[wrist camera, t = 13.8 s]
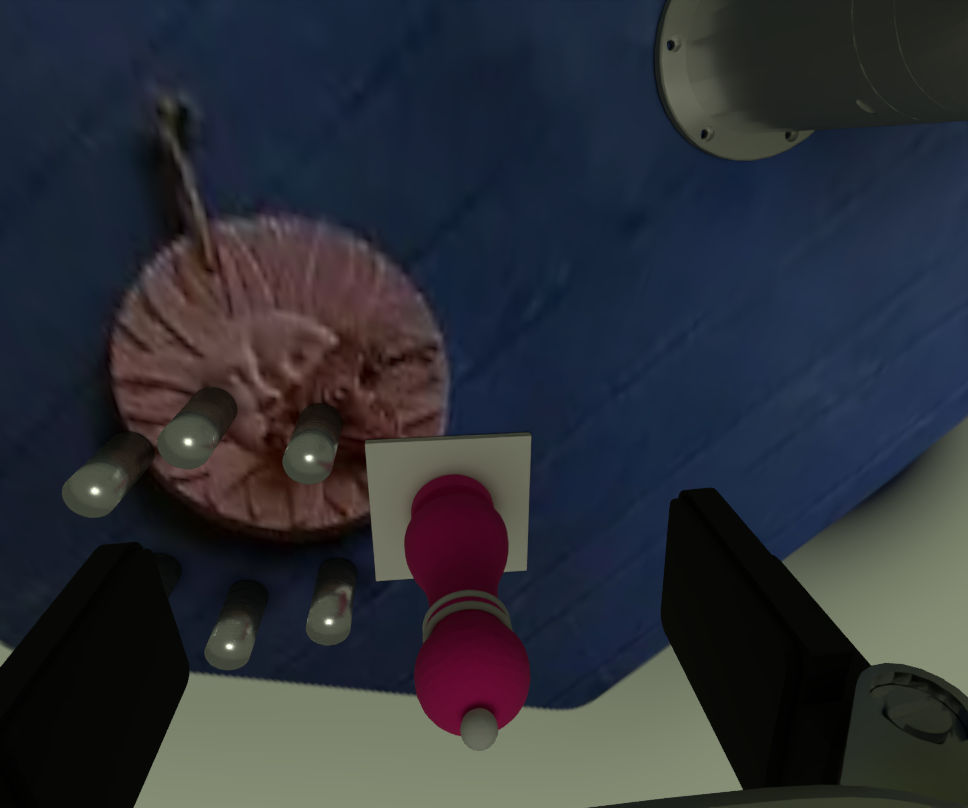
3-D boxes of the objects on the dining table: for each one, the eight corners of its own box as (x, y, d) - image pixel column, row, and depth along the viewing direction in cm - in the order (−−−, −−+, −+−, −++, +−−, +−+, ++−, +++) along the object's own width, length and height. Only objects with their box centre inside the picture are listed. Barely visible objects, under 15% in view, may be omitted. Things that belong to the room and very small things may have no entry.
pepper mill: (451, 565, 48) (478, 820, 30) (384, 512, 45) (367, 755, 27) (518, 507, 47) (590, 737, 28) (453, 449, 44) (484, 660, 26)
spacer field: (338, 382, 42) (328, 417, 36) (359, 602, 49) (353, 659, 44) (92, 391, 40) (42, 429, 35) (151, 618, 47) (118, 679, 42)
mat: (529, 432, 45) (531, 435, 44) (525, 565, 50) (526, 570, 49) (365, 440, 44) (365, 443, 43) (376, 576, 48) (376, 581, 48)
